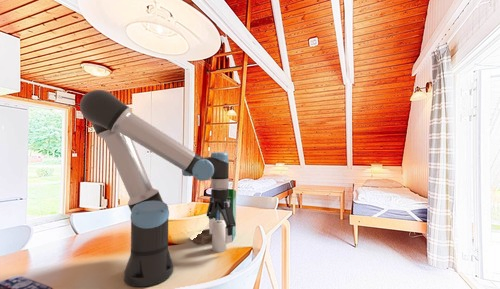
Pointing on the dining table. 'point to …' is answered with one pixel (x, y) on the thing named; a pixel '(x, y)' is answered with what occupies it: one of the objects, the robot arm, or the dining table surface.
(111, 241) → the dining table surface
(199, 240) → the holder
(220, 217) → the milk carton
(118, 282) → the dining table surface
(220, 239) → the paper roll
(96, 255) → the dining table surface
